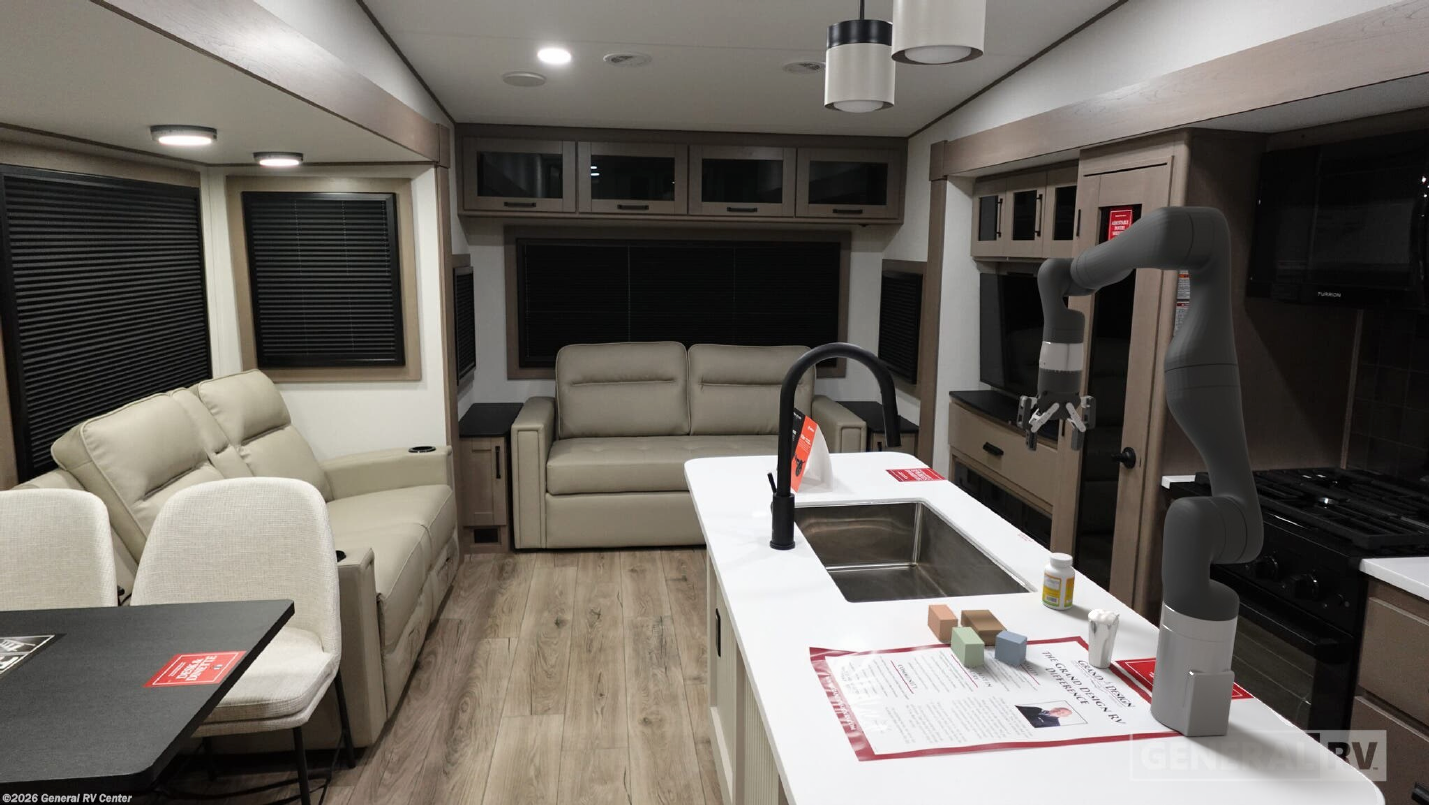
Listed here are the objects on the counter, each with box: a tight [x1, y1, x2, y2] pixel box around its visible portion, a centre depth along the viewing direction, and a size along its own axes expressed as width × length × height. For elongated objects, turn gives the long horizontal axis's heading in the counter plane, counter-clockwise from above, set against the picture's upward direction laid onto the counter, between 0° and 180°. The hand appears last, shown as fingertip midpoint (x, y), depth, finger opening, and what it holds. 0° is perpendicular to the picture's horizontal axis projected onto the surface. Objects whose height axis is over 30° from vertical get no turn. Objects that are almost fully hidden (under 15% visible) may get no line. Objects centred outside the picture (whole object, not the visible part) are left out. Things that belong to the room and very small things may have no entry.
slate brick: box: [993, 630, 1028, 667], centre depth 139 cm, size 4×3×4 cm
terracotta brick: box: [927, 604, 959, 642], centre depth 148 cm, size 6×3×4 cm, turn 5°
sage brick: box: [950, 626, 986, 667], centre depth 139 cm, size 6×3×4 cm, turn 5°
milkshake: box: [1087, 608, 1121, 669], centre depth 136 cm, size 4×5×10 cm
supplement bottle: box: [1041, 552, 1076, 611], centre depth 159 cm, size 5×5×10 cm
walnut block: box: [960, 609, 1008, 646], centre depth 148 cm, size 8×5×3 cm, turn 5°
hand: (1053, 450), depth 160 cm, fingers open, 8 cm apart
